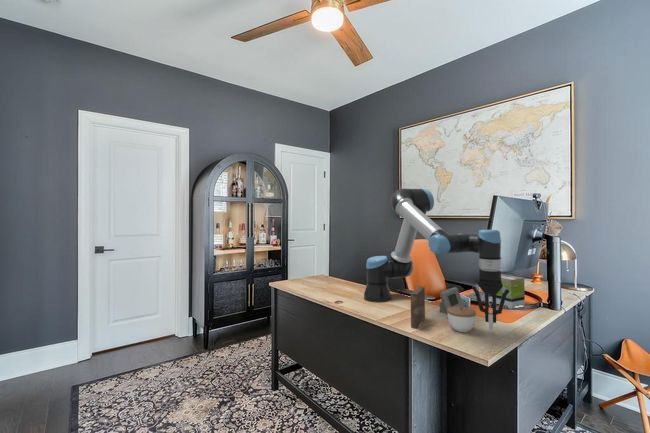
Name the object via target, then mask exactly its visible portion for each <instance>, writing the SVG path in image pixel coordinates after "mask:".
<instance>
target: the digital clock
mask: <svg viewBox="0 0 650 433" xmlns="http://www.w3.org/2000/svg"><path fill="white" fill-rule="evenodd" d="M439 296H440V300H441V302H439V312H440V313H441V314H446V315H447V309H448V308H449V307H460V306H463V307H465V306H464V302H463V300H462V297H461V294H460V291H459V289H458V287H456V286H453V287H450V288H447V289H445V290H443V291H441V292H440V293H439Z"/></svg>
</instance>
